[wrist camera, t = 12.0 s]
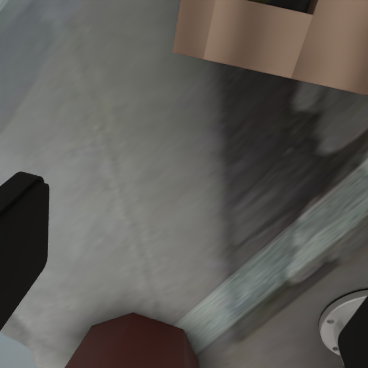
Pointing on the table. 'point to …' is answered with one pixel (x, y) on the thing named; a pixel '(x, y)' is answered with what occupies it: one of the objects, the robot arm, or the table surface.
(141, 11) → the table surface
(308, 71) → the pin board
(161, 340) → the bucket
